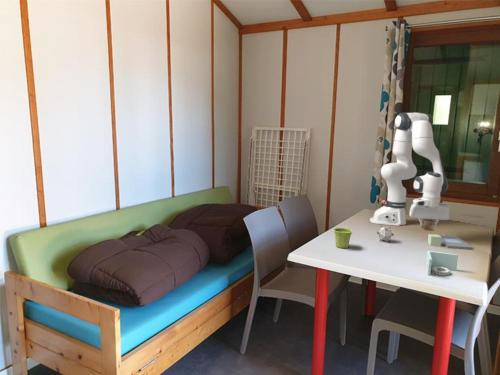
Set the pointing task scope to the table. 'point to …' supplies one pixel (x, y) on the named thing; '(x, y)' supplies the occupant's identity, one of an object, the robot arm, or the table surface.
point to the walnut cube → (428, 225)
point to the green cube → (434, 240)
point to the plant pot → (342, 237)
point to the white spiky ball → (385, 233)
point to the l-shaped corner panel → (441, 262)
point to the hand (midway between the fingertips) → (427, 226)
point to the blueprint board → (454, 242)
